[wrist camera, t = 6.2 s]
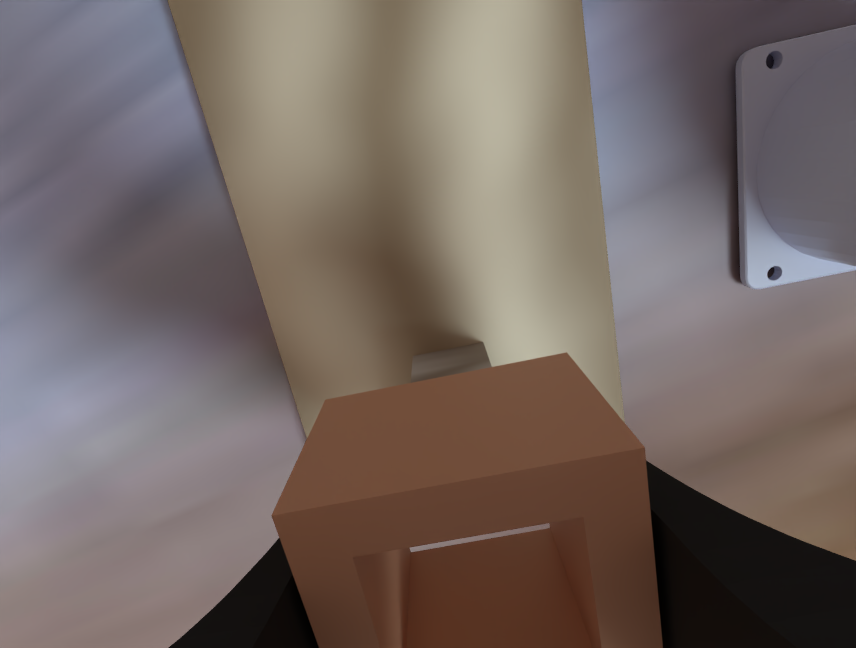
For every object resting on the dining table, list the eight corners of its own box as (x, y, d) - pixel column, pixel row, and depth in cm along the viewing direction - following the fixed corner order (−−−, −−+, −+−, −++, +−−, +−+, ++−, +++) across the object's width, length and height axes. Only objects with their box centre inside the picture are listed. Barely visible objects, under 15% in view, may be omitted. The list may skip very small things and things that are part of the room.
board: (519, -456, 12) (573, -833, 8) (619, 471, 20) (676, 557, 16) (81, -327, 13) (-107, -602, 8) (344, 520, 21) (321, 617, 16)
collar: (566, 352, 11) (644, 447, 7) (594, 553, 12) (669, 721, 8) (325, 399, 11) (271, 515, 7) (381, 589, 13) (362, 767, 9)
